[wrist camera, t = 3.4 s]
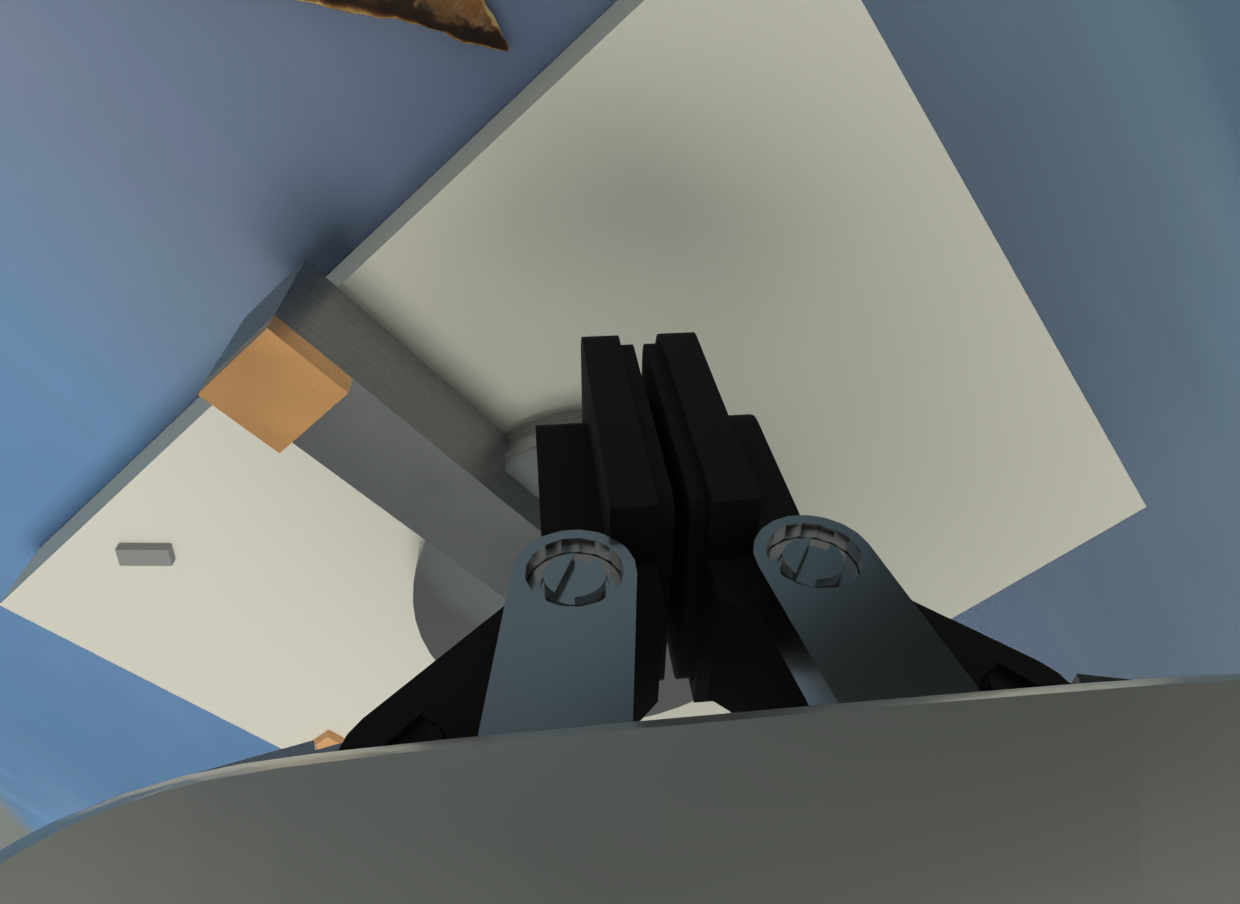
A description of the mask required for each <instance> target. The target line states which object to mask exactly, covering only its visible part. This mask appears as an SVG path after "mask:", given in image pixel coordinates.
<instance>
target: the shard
mask: <svg viewBox="0 0 1240 904" xmlns="http://www.w3.org/2000/svg"><path fill="white" fill-rule="evenodd" d="M297 1H304V2H309V3H313V4H317V5H321V6H325V7H328V8H332V9H336V10H340V11H344V12H347V13H351V14H364V15H369V16H373V17H377V18H395V19H399V20H402V21H405V22H408V23H412V24H418V25H422V26H425V27H427V28H430V29H433V30H438V31H442V32H445V33H447V34H448V35H449V36H451V37H452V38H454V39H456V40H458V41H460V42H462V43H468V44H475V45H480V46H484V47H487V48H491V49H497V50H503V51H508V50H509V45H508V44H507V42H506V41H505V39H504V37H503V35H502V32H501V30H500V28H499V26H498V23H497V21H496V19H495V16H494V15H493V14H492V12H491V11H490V10H489V8H488V7H487V5H486V4H485V2H484V0H297Z"/></svg>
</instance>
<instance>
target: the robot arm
mask: <svg viewBox="0 0 1240 904" xmlns="http://www.w3.org/2000/svg"><path fill="white" fill-rule="evenodd" d="M581 389H582V423H568V424H549V425H535V429H536V448H537V466H538V485H539V503H540V522H541V538H539V539H537V540H535V541H533V542H532V543H530V544H528V545H527V546H526V547H525V549H524V550H523V551H522V552H521V553H520V554H519V555H518V556H517V558H516V561H515V563H514V565H513V568H512V571H511V576H510V581H509V586H508V591H507V596H506V601H505V605H504V606H503V607H502V608H501V609H500V610H498V611H497V612H496V613H495V614H493V615H492V616H491V617H490V618H488V619H487V620H486V621H484V622H483V623H482V624H481V625H479V626H478V627H477V628H476V629H474V630H473V631H472V632H471V633H469V634H468V635H467V636H466V637H464V638H463V639H462V640H461V641H459V642H458V643H457V644H456V645H454V646H453V647H452V648H451V649H449V650H448V651H447V652H446V653H444V654H443V655H442V656H440V657H439V658H438V659H437V660H435V661H434V662H433V663H432V664H430V665H429V666H428V667H427V668H425V669H424V670H423V671H422V672H420V673H419V674H418V675H417V676H415V677H414V678H413V679H412V680H410V681H409V682H408V683H407V684H405V685H404V686H403V687H401V688H400V689H399V690H398V691H396V692H395V693H394V694H393V695H391V696H390V697H389V698H388V699H386V700H385V701H384V702H383V703H381V704H380V705H379V706H378V707H376V708H375V709H374V710H373V711H371V712H370V713H369V714H368V715H366V716H365V717H364V718H363V719H362V720H361V721H360V722H359V723H358V724H357V725H356V726H355V727H354V728H353V729H352V730H351V731H350V732H349V733H348V734H347V735H346V737H345V739H344V741H343V742H342V743H339V744H335V745H332V746H328V747H325V748H321V749H318V750H317V748H316V745H315V742H314V740H312V741H309V742H305V743H302V744H298V745H294V746H291V747H287V748H284V749H280V750H277V751H273V752H270V753H266V754H262V755H259V756H255V757H252V758H248V759H245V760H241V761H238V762H234V763H230V764H227V765H223V766H220V767H216V768H213V769H209V770H206V771H202V772H198V773H195V774H190V775H185V776H181V777H177V778H174V779H171V780H167V781H164V782H161V783H157V784H154V785H151V786H147V787H144V788H141V789H137V790H134V791H131V792H127V793H124V794H121V795H118V796H115V797H113V798H110V799H108V800H105V801H103V802H101V803H98V804H96V805H93V806H91V807H88V808H86V809H84V810H81V811H79V812H76V813H74V814H71V815H69V816H67V817H64V818H62V819H59V820H57V821H54V822H52V823H50V824H48V825H46V826H44V827H42V828H41V829H39V830H37V831H35V832H33V833H31V834H29V835H27V836H25V837H23V838H21V839H19V840H18V841H16V842H14V843H12V844H11V845H9V846H7V847H5V848H4V849H2V850H0V904H1240V674H1225V675H1198V676H1179V677H1163V678H1150V679H1136V680H1131V679H1122V678H1112V677H1103V676H1094V675H1084V674H1077V675H1076V677H1075V679H1074V681H1073V683H1069V682H1068V681H1066V680H1065V679H1064V678H1063V677H1062V676H1061V675H1060V674H1059V673H1057V672H1056V671H1054V670H1052V669H1051V668H1049V667H1047V666H1046V665H1044V664H1042V663H1041V662H1039V661H1037V660H1035V659H1033V658H1031V657H1029V656H1027V655H1025V654H1023V653H1021V652H1019V651H1016V650H1014V649H1012V648H1010V647H1008V646H1006V645H1004V644H1002V643H1000V642H998V641H996V640H993V639H991V638H989V637H987V636H985V635H983V634H981V633H979V632H977V631H975V630H973V629H971V628H968V627H966V626H964V625H962V624H960V623H958V622H956V621H954V620H952V619H950V618H948V617H945V616H943V615H941V614H939V613H937V612H935V611H933V610H931V609H929V608H927V607H925V606H923V605H920V604H918V603H916V602H914V601H912V600H911V598H910V597H909V596H908V595H907V593H906V592H905V591H904V589H903V588H902V587H901V585H900V584H899V583H898V581H897V580H896V579H895V577H894V576H893V575H892V573H891V572H890V571H889V570H888V568H887V567H886V566H885V564H884V563H883V562H882V560H881V559H880V558H879V556H878V555H877V554H876V552H875V551H874V550H873V548H872V547H871V546H870V545H869V543H868V542H867V541H866V540H865V539H864V538H862V537H861V536H860V535H859V534H858V533H857V532H856V531H854V530H852V529H851V528H849V527H847V526H845V525H844V524H842V523H839V522H836V521H833V520H830V519H827V518H824V517H817V516H810V515H800V514H799V512H798V509H797V507H796V505H795V503H794V500H793V498H792V496H791V494H790V492H789V489H788V487H787V485H786V483H785V480H784V478H783V476H782V474H781V472H780V469H779V467H778V465H777V463H776V460H775V458H774V456H773V454H772V452H771V449H770V447H769V445H768V443H767V440H766V438H765V436H764V434H763V432H762V429H761V427H760V425H759V423H758V421H757V419H756V417H755V416H754V415H752V414H742V415H728V413H727V410H726V408H725V405H724V403H723V400H722V398H721V395H720V393H719V390H718V388H717V385H716V383H715V380H714V378H713V375H712V373H711V370H710V368H709V365H708V363H707V360H706V358H705V355H704V353H703V350H702V348H701V345H700V343H699V340H698V338H697V335H696V334H695V332H685V333H661V334H657V336H656V341H655V343H652V344H644V345H643V351H642V375H641V372H640V368H639V364H638V360H637V356H636V353H635V349H634V346H633V344H629V345H621V343H620V339H619V336H618V335H613V336H589V337H581ZM667 645H668V649H669V654H670V659H671V664H672V669H673V673H674V676H675V679H685V678H688V679H689V683H690V688H691V692H692V697H693V701H694V703H698V702H709V701H714V702H715V703H717V704H719V705H720V706H722V707H723V708H725V709H727V710H728V711H730V713H725V714H714V715H702V716H691V717H680V718H669V719H658V720H647V721H641V720H642V719H643V717H644V716H645V715H646V714H647V713H648V712H649V711H650V710H651V709H652V708H653V707H654V706H655V704H656V703H657V702H658V694H659V681H661V680H664V677H665V664H666V649H667Z"/></svg>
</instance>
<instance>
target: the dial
mask: <svg viewBox="0 0 1240 904" xmlns="http://www.w3.org/2000/svg"><path fill="white" fill-rule="evenodd" d="M198 395H199V396H200V397H202V398H203V399H205V400H206V401H207V402H209V403H210V404H211V405H213V406H214V407H216V408H217V409H218V410H220V411H221V412H223V413H224V414H225V415H227V416H228V417H230V418H231V419H232V420H234V421H235V422H237V423H238V424H239V425H241V426H242V427H243V428H245V429H246V430H248V431H249V432H250V433H252V434H253V435H255V436H256V437H257V438H259V439H260V440H262V441H263V442H264V443H266V444H267V445H269V446H270V447H271V448H273V449H274V450H276V451H277V452H278V453H281V452H282V451H283V450H284V449H285V448H286V447H287V446H289V445H290V444H291V443H293V444H295V445H296V446H297V447H299V448H300V449H302V450H303V451H304V452H306V453H307V454H308V455H310V456H311V457H312V458H314V459H315V460H317V461H318V462H319V463H321V464H322V465H323V466H325V467H326V468H327V469H329V470H330V471H332V472H333V473H334V474H336V475H337V476H338V477H340V478H341V479H342V480H344V481H345V482H347V483H348V484H349V485H351V486H352V487H353V488H355V489H356V490H358V491H359V492H360V493H362V494H363V495H364V496H366V497H367V498H368V499H370V500H371V501H373V502H374V503H375V504H377V505H378V506H379V507H381V508H382V509H383V510H385V511H386V512H388V513H389V514H390V515H392V516H393V517H394V518H396V519H397V520H398V521H400V522H401V523H403V524H404V525H405V526H407V527H408V528H409V529H411V530H412V531H413V532H415V533H416V534H418V535H419V536H420V542H419V548H418V555H417V562H416V569H415V576H414V583H413V607H414V614H415V620H416V623H417V626H418V629H419V632H420V635H421V638H422V640H423V642H424V643H425V645H426V647H427V649H428V651H429V652H430V654H431V655H432V657H433V658H434V659H435V660H437V659H438V658H439V657H440V656H442V655H443V654H444V653H446V652H447V651H448V650H449V649H451V648H452V647H453V646H454V645H456V644H457V643H458V642H459V641H461V640H462V639H463V638H464V637H466V636H467V635H468V634H469V633H471V632H472V631H473V630H474V629H476V628H477V627H478V626H479V625H481V624H482V623H483V622H484V621H486V620H487V619H488V618H490V617H491V616H492V615H493V614H495V613H496V612H497V611H498V610H500V609H501V608H502V607H503V606H504V605H505V601H506V596H507V591H508V586H509V581H510V576H511V571H512V568H513V565H514V563H515V561H516V558H517V556H518V555H519V554H520V553H521V552H522V551H523V550H524V549H525V547H526V546H527V545H528V544H530V543H532V542H533V541H535V540H537V539H539V538H541V522H540V503H539V485H538V466H537V448H536V429H535V425H549V424H568V423H582V409H577V410H570V411H564V412H560V413H556V414H553V415H549V416H545V417H541V418H538V419H536V420H533V421H530V422H528V423H525V424H522V425H520V426H517V427H515V428H513V429H511V430H509V431H507V432H506V433H504V432H503V431H502V430H501V429H499V428H498V427H497V426H496V425H495V424H494V423H493V422H491V421H490V420H489V419H488V418H487V417H486V416H484V415H483V414H482V413H481V412H480V411H479V410H478V409H476V408H475V407H474V406H473V405H472V404H471V403H470V402H468V401H467V400H466V399H465V398H464V397H463V396H462V395H460V394H459V393H458V392H457V391H456V390H455V389H454V388H452V387H451V386H450V385H449V384H448V383H447V382H446V381H444V380H443V379H442V378H441V377H440V376H439V375H437V374H436V373H435V372H434V371H433V370H432V369H431V368H429V367H428V366H427V365H426V364H425V363H424V362H423V361H421V360H420V359H419V358H418V357H417V356H416V355H415V354H413V353H412V352H411V351H410V350H409V349H408V348H407V347H405V346H404V345H403V344H402V343H401V342H400V341H399V340H397V339H396V338H395V337H394V336H393V335H392V334H391V333H389V332H388V331H387V330H386V329H385V328H384V327H382V326H381V325H380V324H379V323H378V322H377V321H376V320H374V319H373V318H372V317H371V316H370V315H369V314H368V313H366V312H365V311H364V310H363V309H362V308H361V307H360V306H358V305H357V304H356V303H355V302H354V301H353V300H352V299H350V298H349V297H348V296H347V295H346V294H345V293H344V292H342V291H341V290H340V289H339V288H338V287H337V286H335V285H334V284H333V283H332V282H331V281H330V280H329V279H327V278H326V277H325V276H324V275H323V274H322V273H321V272H319V271H318V270H317V269H316V268H315V267H314V266H313V265H311V264H310V263H309V262H308V261H307V260H306V259H305V260H304V261H303V262H302V263H301V264H300V265H299V266H298V267H297V268H296V269H295V270H294V271H293V272H292V273H291V274H290V275H289V276H288V277H287V278H286V279H285V280H284V281H283V282H281V283H280V284H279V285H278V286H277V287H276V288H275V289H274V290H273V291H272V292H271V293H270V294H269V295H268V296H267V297H266V298H265V299H264V300H263V301H262V302H261V303H260V304H259V305H258V306H257V307H256V308H255V309H254V310H253V311H252V312H251V313H249V314H248V315H247V316H246V317H245V319H244V320H243V322H242V323H241V325H240V327H239V328H238V330H237V331H236V333H235V335H234V336H233V338H232V340H231V341H230V343H229V344H228V346H227V348H226V349H225V351H224V352H223V354H222V356H221V357H220V359H219V361H218V362H217V364H216V365H215V367H214V369H213V370H212V372H211V373H210V375H209V377H208V378H207V380H206V382H205V383H204V385H203V386H202V388H201V390H200V391H199V393H198ZM692 701H693V697H692V692H691V688H690V683H689V679H688V678H685V679H675V676H674V673H673V669H672V664H671V659H670V654H669V649H668V645H667V649H666V664H665V677H664V680H661V681H659V694H658V702H657V703H656V704H655V706H654V707H653V708H652V709H651V710H650V711H649V712H648V713H647V714H646V715H645V716H644V717H648V716H652V715H656V714H660V713H663V712H666V711H669V710H672V709H675V708H678V707H680V706H683V705H685V704H688V703H690V702H692ZM644 717H643V718H644Z"/></svg>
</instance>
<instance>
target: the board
mask: <svg viewBox="0 0 1240 904" xmlns="http://www.w3.org/2000/svg"><path fill="white" fill-rule="evenodd" d="M326 278H327V279H329V280H330V281H331V282H332V283H333V284H334V285H335V286H337V287H338V288H339V289H340V290H341V291H342V292H344V293H345V294H346V295H347V296H348V297H349V298H350V299H352V300H353V301H354V302H355V303H356V304H357V305H358V306H360V307H361V308H362V309H363V310H364V311H365V312H366V313H368V314H369V315H370V316H371V317H372V318H373V319H374V320H376V321H377V322H378V323H379V324H380V325H381V326H382V327H384V328H385V329H386V330H387V331H388V332H389V333H391V334H392V335H393V336H394V337H395V338H396V339H397V340H399V341H400V342H401V343H402V344H403V345H404V346H405V347H407V348H408V349H409V350H410V351H411V352H412V353H413V354H415V355H416V356H417V357H418V358H419V359H420V360H421V361H423V362H424V363H425V364H426V365H427V366H428V367H429V368H431V369H432V370H433V371H434V372H435V373H436V374H437V375H439V376H440V377H441V378H442V379H443V380H444V381H446V382H447V383H448V384H449V385H450V386H451V387H452V388H454V389H455V390H456V391H457V392H458V393H459V394H460V395H462V396H463V397H464V398H465V399H466V400H467V401H468V402H470V403H471V404H472V405H473V406H474V407H475V408H476V409H478V410H479V411H480V412H481V413H482V414H483V415H484V416H486V417H487V418H488V419H489V420H490V421H491V422H493V423H494V424H495V425H496V426H497V427H498V428H499V429H501V430H502V431H503V432H504V433H506V432H507V431H509V430H511V429H513V428H515V427H517V426H520V425H522V424H525V423H528V422H530V421H533V420H536V419H538V418H541V417H545V416H549V415H553V414H556V413H560V412H564V411H570V410H577V409H582V389H581V337H589V336H613V335H618V336H619V339H620V343H621V345H629V344H633V346H634V349H635V353H636V356H637V360H638V364H639V368H640V372H641V375H642V351H643V345H644V344H652V343H655V341H656V336H657V334H661V333H685V332H695V334H696V335H697V338H698V340H699V343H700V345H701V348H702V350H703V353H704V355H705V358H706V360H707V363H708V365H709V368H710V370H711V373H712V375H713V378H714V380H715V383H716V385H717V388H718V390H719V393H720V395H721V398H722V400H723V403H724V405H725V408H726V410H727V413H728V415H742V414H752V415H754V416H755V417H756V419H757V421H758V423H759V425H760V427H761V429H762V432H763V434H764V436H765V438H766V440H767V443H768V445H769V447H770V449H771V452H772V454H773V456H774V458H775V460H776V463H777V465H778V467H779V469H780V472H781V474H782V476H783V478H784V480H785V483H786V485H787V487H788V489H789V492H790V494H791V496H792V498H793V500H794V503H795V505H796V507H797V509H798V512H799V514H800V515H810V516H817V517H824V518H827V519H830V520H833V521H836V522H839V523H842V524H844V525H845V526H847V527H849V528H851V529H852V530H854V531H856V532H857V533H858V534H859V535H860V536H861V537H862V538H864V539H865V540H866V541H867V542H868V543H869V545H870V546H871V547H872V548H873V550H874V551H875V552H876V554H877V555H878V556H879V558H880V559H881V560H882V562H883V563H884V564H885V566H886V567H887V568H888V570H889V571H890V572H891V573H892V575H893V576H894V577H895V579H896V580H897V581H898V583H899V584H900V585H901V587H902V588H903V589H904V591H905V592H906V593H907V595H908V596H909V597H910V598H911V600H912V601H914V602H916V603H918V604H920V605H923V606H925V607H927V608H929V609H931V610H933V611H935V612H937V613H939V614H941V615H943V616H945V617H948V618H950V619H952V618H954V617H955V616H957V615H959V614H960V613H962V612H964V611H966V610H967V609H969V608H971V607H973V606H974V605H976V604H978V603H980V602H981V601H983V600H985V599H987V598H988V597H990V596H992V595H994V594H995V593H997V592H999V591H1001V590H1002V589H1004V588H1006V587H1008V586H1009V585H1011V584H1013V583H1014V582H1016V581H1018V580H1020V579H1021V578H1023V577H1025V576H1027V575H1028V574H1030V573H1032V572H1034V571H1035V570H1037V569H1039V568H1041V567H1042V566H1044V565H1046V564H1048V563H1049V562H1051V561H1053V560H1055V559H1056V558H1058V557H1060V556H1062V555H1063V554H1065V553H1067V552H1068V551H1070V550H1072V549H1074V548H1075V547H1077V546H1079V545H1081V544H1082V543H1084V542H1086V541H1088V540H1089V539H1091V538H1093V537H1095V536H1096V535H1098V534H1100V533H1102V532H1103V531H1105V530H1107V529H1109V528H1110V527H1112V526H1114V525H1116V524H1117V523H1119V522H1121V521H1123V520H1124V519H1126V518H1128V517H1129V516H1131V515H1133V514H1135V513H1136V512H1138V511H1140V510H1142V509H1143V508H1145V507H1146V505H1145V504H1144V502H1143V500H1142V498H1141V496H1140V495H1139V493H1138V491H1137V489H1136V488H1135V486H1134V484H1133V482H1132V480H1131V479H1130V477H1129V475H1128V473H1127V472H1126V470H1125V468H1124V466H1123V464H1122V463H1121V461H1120V459H1119V457H1118V456H1117V454H1116V452H1115V450H1114V448H1113V447H1112V445H1111V443H1110V441H1109V440H1108V438H1107V436H1106V434H1105V432H1104V431H1103V429H1102V427H1101V425H1100V424H1099V422H1098V420H1097V418H1096V417H1095V415H1094V413H1093V411H1092V409H1091V408H1090V406H1089V404H1088V402H1087V401H1086V399H1085V397H1084V395H1083V393H1082V392H1081V390H1080V388H1079V386H1078V385H1077V383H1076V381H1075V379H1074V377H1073V376H1072V374H1071V372H1070V370H1069V369H1068V367H1067V365H1066V363H1065V361H1064V360H1063V358H1062V356H1061V354H1060V353H1059V351H1058V349H1057V347H1056V345H1055V344H1054V342H1053V340H1052V338H1051V337H1050V335H1049V333H1048V331H1047V329H1046V328H1045V326H1044V324H1043V322H1042V321H1041V319H1040V317H1039V315H1038V313H1037V312H1036V310H1035V308H1034V306H1033V305H1032V303H1031V301H1030V299H1029V297H1028V296H1027V294H1026V292H1025V290H1024V289H1023V287H1022V285H1021V283H1020V281H1019V280H1018V278H1017V276H1016V274H1015V273H1014V271H1013V269H1012V267H1011V265H1010V264H1009V262H1008V260H1007V258H1006V257H1005V255H1004V253H1003V251H1002V249H1001V248H1000V246H999V244H998V242H997V241H996V239H995V237H994V235H993V233H992V232H991V230H990V228H989V226H988V225H987V223H986V221H985V219H984V217H983V216H982V214H981V212H980V210H979V209H978V207H977V205H976V203H975V201H974V200H973V198H972V196H971V194H970V193H969V191H968V189H967V187H966V186H965V184H964V182H963V180H962V178H961V177H960V175H959V173H958V171H957V170H956V168H955V166H954V164H953V162H952V161H951V159H950V157H949V155H948V154H947V152H946V150H945V148H944V146H943V145H942V143H941V141H940V139H939V138H938V136H937V134H936V132H935V130H934V129H933V127H932V125H931V123H930V122H929V120H928V118H927V116H926V114H925V113H924V111H923V109H922V107H921V106H920V104H919V102H918V100H917V98H916V97H915V95H914V93H913V91H912V90H911V88H910V86H909V84H908V82H907V81H906V79H905V77H904V75H903V74H902V72H901V70H900V68H899V66H898V65H897V63H896V61H895V59H894V58H893V56H892V54H891V52H890V50H889V49H888V47H887V45H886V43H885V42H884V40H883V38H882V36H881V34H880V33H879V31H878V29H877V27H876V26H875V24H874V22H873V20H872V18H871V17H870V15H869V13H868V11H867V10H866V8H865V6H864V4H863V2H862V1H861V0H617V1H616V2H615V3H614V4H613V5H612V6H611V7H610V8H609V9H608V10H607V11H605V12H604V13H603V14H602V15H601V16H600V17H599V18H598V19H597V20H596V21H595V22H594V23H593V24H592V25H591V26H590V27H589V28H588V29H586V30H585V31H584V32H583V33H582V34H581V35H580V36H579V37H578V38H577V39H576V40H575V41H574V42H573V43H572V44H571V45H570V46H569V47H568V48H566V49H565V50H564V51H563V52H562V53H561V54H560V55H559V56H558V57H557V58H556V59H555V60H554V61H553V62H552V63H551V64H550V65H549V66H547V67H546V68H545V69H544V70H543V71H542V72H541V73H540V74H539V75H538V76H537V77H536V78H535V79H534V80H533V81H532V82H531V83H530V84H529V85H527V86H526V87H525V88H524V89H523V90H522V91H521V92H520V93H519V94H518V95H517V96H516V97H515V98H514V99H513V100H512V101H511V102H510V103H508V104H507V105H506V106H505V107H504V108H503V109H502V110H501V111H500V112H499V113H498V114H497V115H496V116H495V117H494V118H493V119H492V120H491V121H490V122H488V123H487V124H486V125H485V126H484V127H483V128H482V129H481V130H480V131H479V132H478V133H477V134H476V135H475V136H474V137H473V138H472V139H471V140H469V141H468V142H467V143H466V144H465V145H464V146H463V147H462V148H461V149H460V150H459V151H458V152H457V153H456V154H455V155H454V156H453V157H452V158H450V159H449V160H448V161H447V162H446V163H445V164H444V165H443V166H442V167H441V168H440V169H439V170H438V171H437V172H436V173H435V174H434V175H433V176H432V177H430V178H429V179H428V180H427V181H426V182H425V183H424V184H423V185H422V186H421V187H420V188H419V189H418V190H417V191H416V192H415V193H414V194H413V195H411V196H410V197H409V198H408V199H407V200H406V201H405V202H404V203H403V204H402V205H401V206H400V207H399V208H398V209H397V210H396V211H395V212H394V213H393V214H391V215H390V216H389V217H388V218H387V219H386V220H385V221H384V222H383V223H382V224H381V225H380V226H379V227H378V228H377V229H376V230H375V231H374V232H372V233H371V234H370V235H369V236H368V237H367V238H366V239H365V240H364V241H363V242H362V243H361V244H360V245H359V246H358V247H357V248H356V249H355V250H354V251H352V252H351V253H350V254H349V255H348V256H347V257H346V258H345V259H344V260H343V261H342V262H341V263H340V264H339V265H338V266H337V267H336V268H335V269H333V270H332V271H331V272H330V273H329V274H328V275H327V276H326ZM419 542H420V536H419V535H418V534H416V533H415V532H413V531H412V530H411V529H409V528H408V527H407V526H405V525H404V524H403V523H401V522H400V521H398V520H397V519H396V518H394V517H393V516H392V515H390V514H389V513H388V512H386V511H385V510H383V509H382V508H381V507H379V506H378V505H377V504H375V503H374V502H373V501H371V500H370V499H368V498H367V497H366V496H364V495H363V494H362V493H360V492H359V491H358V490H356V489H355V488H353V487H352V486H351V485H349V484H348V483H347V482H345V481H344V480H342V479H341V478H340V477H338V476H337V475H336V474H334V473H333V472H332V471H330V470H329V469H327V468H326V467H325V466H323V465H322V464H321V463H319V462H318V461H317V460H315V459H314V458H312V457H311V456H310V455H308V454H307V453H306V452H304V451H303V450H302V449H300V448H299V447H297V446H296V445H295V444H293V443H291V444H290V445H289V446H287V447H286V448H285V449H284V450H283V451H282V452H281V453H278V452H277V451H276V450H274V449H273V448H271V447H270V446H269V445H267V444H266V443H264V442H263V441H262V440H260V439H259V438H257V437H256V436H255V435H253V434H252V433H250V432H249V431H248V430H246V429H245V428H243V427H242V426H241V425H239V424H238V423H237V422H235V421H234V420H232V419H231V418H230V417H228V416H227V415H225V414H224V413H223V412H221V411H220V410H218V409H217V408H216V407H214V406H213V405H211V404H210V403H209V402H207V401H206V400H205V399H203V398H202V397H199V398H198V399H196V400H195V401H194V402H193V403H192V404H191V405H190V406H189V407H188V408H187V409H186V410H185V411H184V412H183V413H182V414H181V415H180V416H179V417H177V418H176V419H175V420H174V421H173V422H172V423H171V424H170V425H169V426H168V427H167V428H166V429H165V430H164V431H163V432H162V433H161V434H160V435H158V436H157V437H156V438H155V439H154V440H153V441H152V442H151V443H150V444H149V445H148V446H147V447H146V448H145V449H144V450H143V451H142V452H141V453H140V454H138V455H137V456H136V457H135V458H134V459H133V460H132V461H131V462H130V463H129V464H128V465H127V466H126V467H125V468H124V469H123V470H122V471H121V472H119V473H118V474H117V475H116V476H115V477H114V478H113V479H112V480H111V481H110V482H109V483H108V484H107V485H106V486H105V487H104V488H103V489H102V490H101V491H99V492H98V493H97V494H96V495H95V496H94V497H93V498H92V499H91V500H90V501H89V502H88V503H87V504H86V505H85V506H84V507H83V508H82V509H80V510H79V511H78V512H77V513H76V514H75V515H74V516H73V517H72V518H71V519H70V520H69V521H68V522H67V523H66V524H65V525H64V526H63V527H62V528H60V529H59V530H58V531H57V532H56V533H55V534H54V535H53V536H52V537H51V538H50V539H49V540H48V541H47V542H46V543H45V544H44V545H43V546H41V547H40V548H39V550H38V551H37V552H36V554H35V555H34V557H33V558H32V559H31V561H30V562H29V564H28V565H27V566H26V568H25V569H24V571H23V572H22V573H21V575H20V576H19V578H18V579H17V580H16V582H15V583H14V585H13V586H12V587H11V589H10V590H9V592H8V593H7V594H6V596H5V597H4V599H3V600H2V601H1V603H0V606H2V607H4V608H6V609H8V610H10V611H12V612H14V613H16V614H18V615H20V616H22V617H24V618H26V619H28V620H30V621H32V622H34V623H36V624H38V625H40V626H42V627H43V628H45V629H47V630H49V631H51V632H53V633H55V634H57V635H59V636H61V637H63V638H65V639H67V640H69V641H71V642H73V643H75V644H77V645H79V646H81V647H83V648H85V649H87V650H89V651H91V652H93V653H95V654H97V655H99V656H100V657H102V658H104V659H106V660H108V661H110V662H112V663H114V664H116V665H118V666H120V667H122V668H124V669H126V670H128V671H130V672H132V673H134V674H136V675H138V676H140V677H142V678H144V679H146V680H148V681H150V682H152V683H154V684H156V685H157V686H159V687H161V688H163V689H165V690H167V691H169V692H171V693H173V694H175V695H177V696H179V697H181V698H183V699H185V700H187V701H189V702H191V703H193V704H195V705H197V706H199V707H201V708H203V709H205V710H207V711H209V712H211V713H213V714H215V715H216V716H218V717H220V718H222V719H224V720H226V721H228V722H230V723H232V724H234V725H236V726H238V727H240V728H242V729H244V730H246V731H248V732H250V733H252V734H254V735H256V736H258V737H260V738H262V739H264V740H266V741H268V742H270V743H272V744H273V745H275V746H277V747H279V748H281V749H284V748H287V747H291V746H294V745H298V744H302V743H305V742H309V741H312V740H314V742H315V745H316V748H317V750H318V749H321V748H325V747H328V746H332V745H335V744H339V743H342V742H343V741H344V739H345V737H346V735H347V734H348V733H349V732H350V731H351V730H352V729H353V728H354V727H355V726H356V725H357V724H358V723H359V722H360V721H361V720H362V719H363V718H364V717H365V716H366V715H368V714H369V713H370V712H371V711H373V710H374V709H375V708H376V707H378V706H379V705H380V704H381V703H383V702H384V701H385V700H386V699H388V698H389V697H390V696H391V695H393V694H394V693H395V692H396V691H398V690H399V689H400V688H401V687H403V686H404V685H405V684H407V683H408V682H409V681H410V680H412V679H413V678H414V677H415V676H417V675H418V674H419V673H420V672H422V671H423V670H424V669H425V668H427V667H428V666H429V665H430V664H432V663H433V662H434V661H435V659H434V658H433V657H432V655H431V654H430V652H429V651H428V649H427V647H426V645H425V643H424V642H423V640H422V638H421V635H420V632H419V629H418V626H417V623H416V620H415V614H414V607H413V583H414V576H415V569H416V562H417V555H418V548H419ZM725 713H730V711H728V710H727V709H725V708H723V707H722V706H720V705H719V704H717V703H715V702H714V701H709V702H698V703H694V701H692V702H690V703H688V704H685V705H683V706H680V707H678V708H675V709H672V710H669V711H666V712H663V713H660V714H656V715H652V716H648V717H644V718H643V719H642V720H641V721H647V720H658V719H669V718H680V717H691V716H702V715H714V714H725Z"/></svg>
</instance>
